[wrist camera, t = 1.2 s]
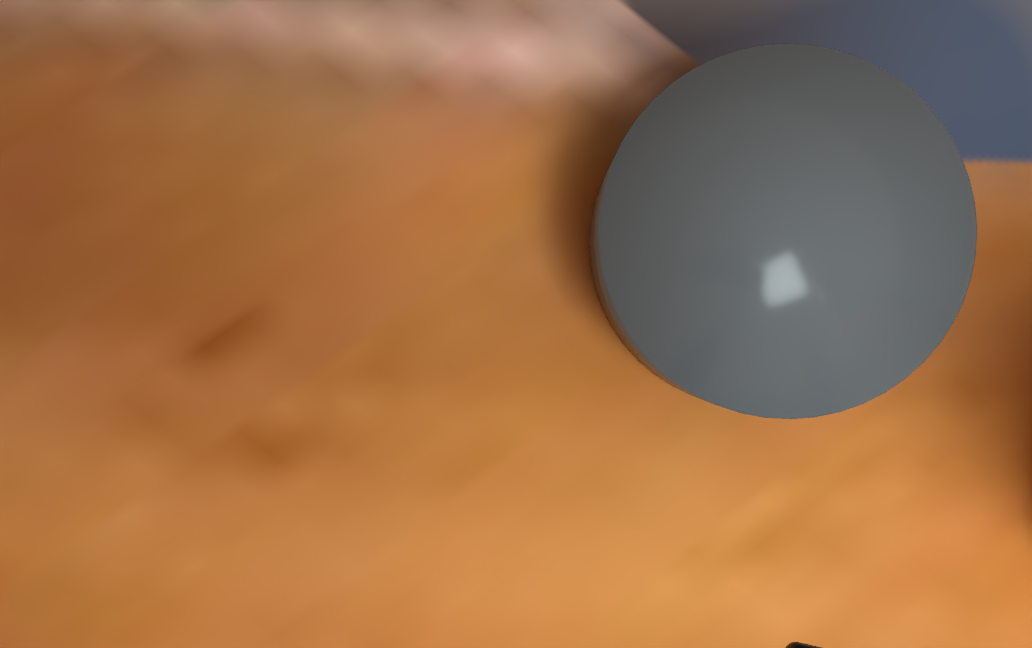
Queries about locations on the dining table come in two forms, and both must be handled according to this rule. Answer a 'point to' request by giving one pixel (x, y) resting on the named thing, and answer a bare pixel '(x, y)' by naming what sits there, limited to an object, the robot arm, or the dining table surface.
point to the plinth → (784, 232)
